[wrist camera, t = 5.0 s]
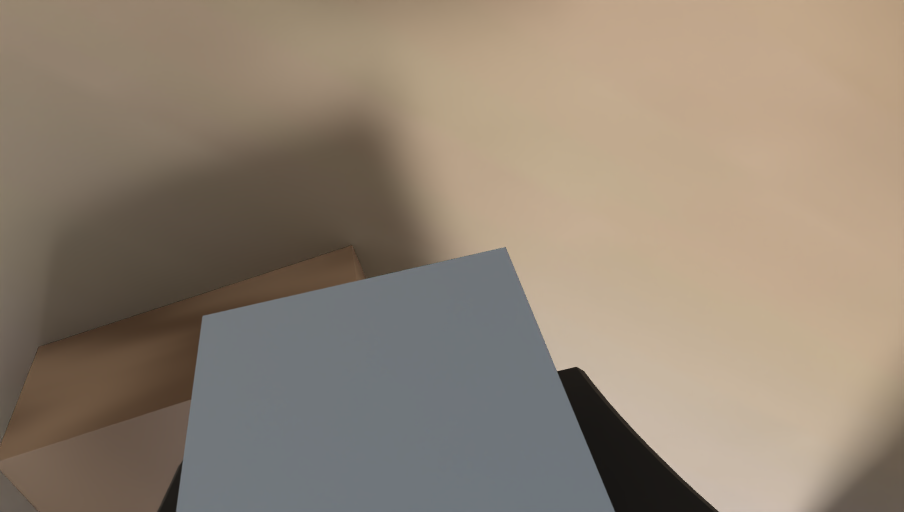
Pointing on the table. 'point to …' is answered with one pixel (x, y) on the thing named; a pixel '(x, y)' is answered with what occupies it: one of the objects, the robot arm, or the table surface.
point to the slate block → (386, 402)
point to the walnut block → (129, 397)
